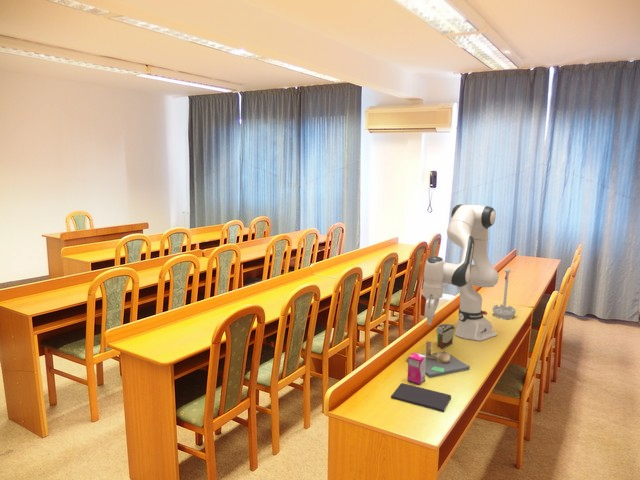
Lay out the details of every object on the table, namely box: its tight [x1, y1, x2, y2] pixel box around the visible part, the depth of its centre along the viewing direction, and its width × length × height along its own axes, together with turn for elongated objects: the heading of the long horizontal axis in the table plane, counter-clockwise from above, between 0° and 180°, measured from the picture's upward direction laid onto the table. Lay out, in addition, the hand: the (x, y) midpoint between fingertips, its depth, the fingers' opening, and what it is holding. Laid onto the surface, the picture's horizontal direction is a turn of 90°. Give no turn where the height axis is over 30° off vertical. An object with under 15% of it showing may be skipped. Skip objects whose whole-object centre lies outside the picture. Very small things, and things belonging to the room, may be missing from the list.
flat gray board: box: [406, 350, 471, 379], centre depth 222 cm, size 22×19×2 cm
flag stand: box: [492, 267, 517, 320], centre depth 288 cm, size 13×13×30 cm
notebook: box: [390, 382, 452, 413], centre depth 193 cm, size 13×2×21 cm
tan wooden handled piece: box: [418, 341, 451, 364], centre depth 225 cm, size 14×6×8 cm, turn 68°
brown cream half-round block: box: [435, 323, 456, 350], centre depth 246 cm, size 12×6×10 cm, turn 134°
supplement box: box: [407, 352, 426, 386], centre depth 207 cm, size 6×6×12 cm
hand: (430, 321), depth 222 cm, fingers open, 8 cm apart
